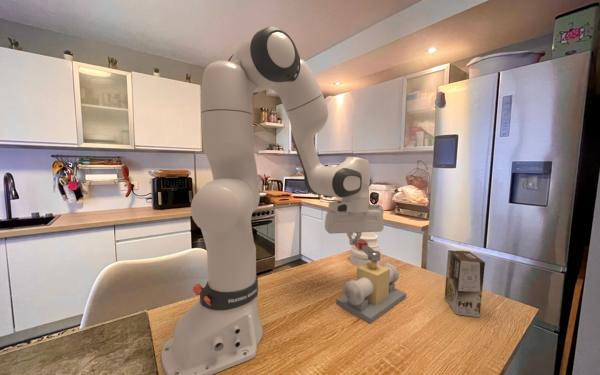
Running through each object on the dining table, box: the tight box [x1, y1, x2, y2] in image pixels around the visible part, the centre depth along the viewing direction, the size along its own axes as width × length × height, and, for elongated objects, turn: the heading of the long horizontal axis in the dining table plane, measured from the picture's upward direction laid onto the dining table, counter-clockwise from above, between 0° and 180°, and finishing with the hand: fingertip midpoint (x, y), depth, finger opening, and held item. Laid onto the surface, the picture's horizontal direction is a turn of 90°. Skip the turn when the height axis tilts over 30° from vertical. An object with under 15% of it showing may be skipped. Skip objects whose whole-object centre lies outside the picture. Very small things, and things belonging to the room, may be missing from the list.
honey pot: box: [349, 232, 382, 267], centre depth 105 cm, size 13×13×18 cm
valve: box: [335, 261, 407, 325], centre depth 75 cm, size 20×12×13 cm, turn 130°
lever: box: [355, 239, 380, 261], centre depth 79 cm, size 14×4×2 cm, turn 9°
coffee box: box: [444, 249, 486, 318], centre depth 72 cm, size 9×6×16 cm
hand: (353, 244), depth 84 cm, fingers closed
